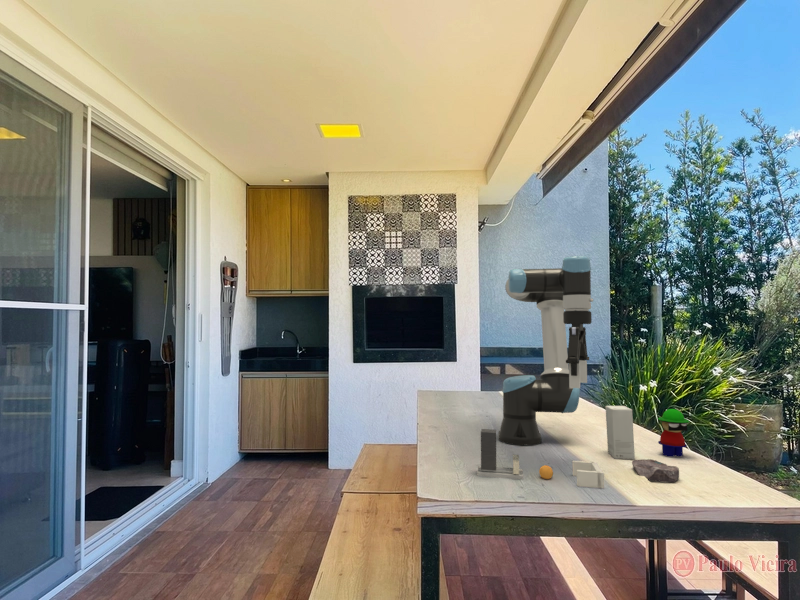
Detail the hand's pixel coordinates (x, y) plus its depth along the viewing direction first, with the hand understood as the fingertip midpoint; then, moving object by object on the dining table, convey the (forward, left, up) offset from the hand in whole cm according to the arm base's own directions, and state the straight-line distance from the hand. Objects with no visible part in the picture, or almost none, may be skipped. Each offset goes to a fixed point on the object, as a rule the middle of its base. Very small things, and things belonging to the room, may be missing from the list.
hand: (578, 385), depth 129 cm
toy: (+3, +42, -25) cm, 49 cm away
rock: (+12, +15, -25) cm, 32 cm away
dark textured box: (-9, -22, -24) cm, 34 cm away
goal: (+7, -6, -24) cm, 26 cm away
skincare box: (-6, +27, -25) cm, 38 cm away
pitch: (-3, -16, -25) cm, 30 cm away
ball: (0, -14, -22) cm, 26 cm away
